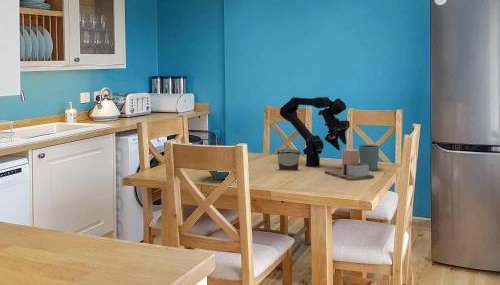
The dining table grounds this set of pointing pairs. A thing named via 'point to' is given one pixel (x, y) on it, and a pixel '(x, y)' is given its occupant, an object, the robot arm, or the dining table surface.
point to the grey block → (356, 170)
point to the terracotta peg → (350, 157)
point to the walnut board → (341, 175)
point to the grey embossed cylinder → (369, 156)
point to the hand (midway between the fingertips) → (342, 147)
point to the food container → (288, 159)
